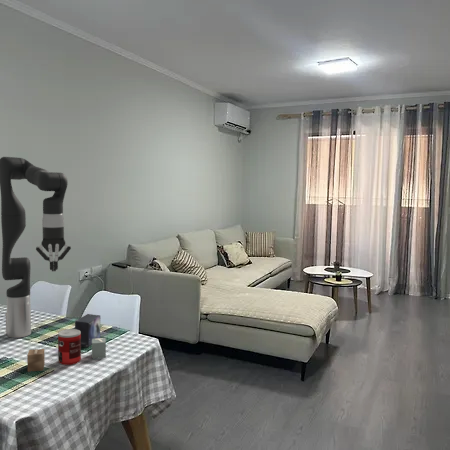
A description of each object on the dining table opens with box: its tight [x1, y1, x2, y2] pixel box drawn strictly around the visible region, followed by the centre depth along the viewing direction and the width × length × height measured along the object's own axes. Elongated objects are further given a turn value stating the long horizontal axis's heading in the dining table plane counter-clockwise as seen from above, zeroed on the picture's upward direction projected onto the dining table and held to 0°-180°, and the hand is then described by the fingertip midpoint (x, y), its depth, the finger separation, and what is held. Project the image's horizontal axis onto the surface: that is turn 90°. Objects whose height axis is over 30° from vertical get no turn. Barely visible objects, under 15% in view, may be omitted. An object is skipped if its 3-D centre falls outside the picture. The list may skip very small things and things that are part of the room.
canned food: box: [57, 328, 82, 366], centre depth 165 cm, size 8×8×11 cm
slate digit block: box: [91, 337, 107, 360], centre depth 171 cm, size 5×5×6 cm
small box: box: [74, 313, 101, 348], centre depth 184 cm, size 11×6×10 cm, turn 168°
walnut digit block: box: [26, 348, 46, 373], centre depth 159 cm, size 5×5×6 cm
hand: (53, 270), depth 170 cm, fingers closed
